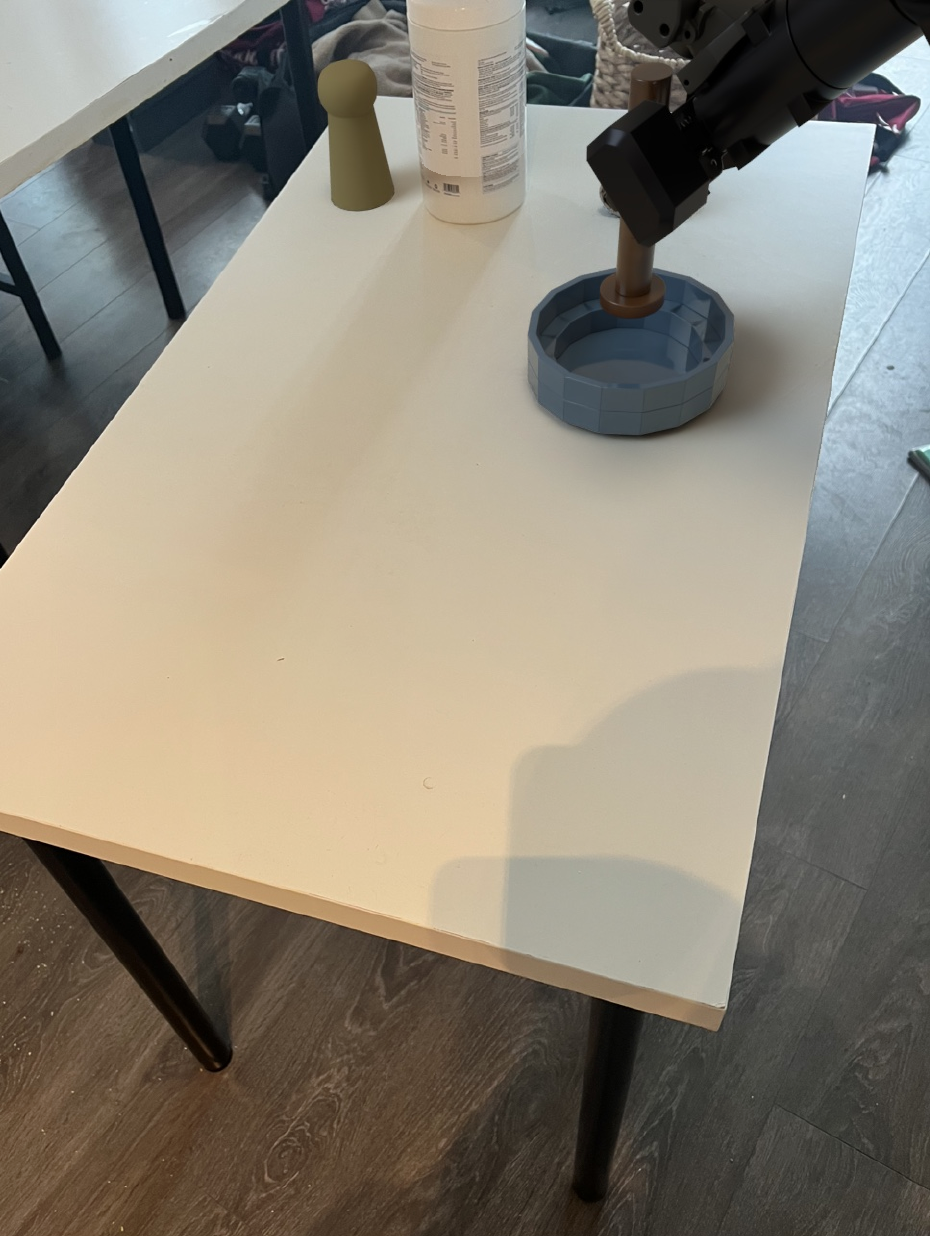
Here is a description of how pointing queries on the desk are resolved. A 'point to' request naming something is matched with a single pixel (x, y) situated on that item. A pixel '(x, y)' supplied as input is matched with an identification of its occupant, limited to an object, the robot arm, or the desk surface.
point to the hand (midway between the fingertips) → (623, 193)
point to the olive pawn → (354, 136)
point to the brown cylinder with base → (633, 281)
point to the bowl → (629, 356)
